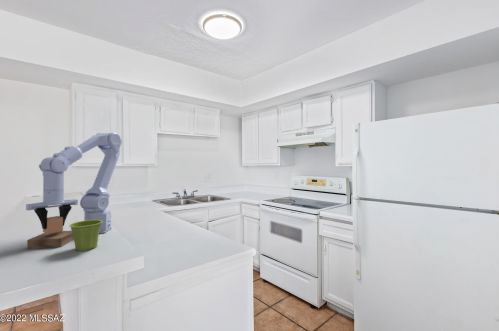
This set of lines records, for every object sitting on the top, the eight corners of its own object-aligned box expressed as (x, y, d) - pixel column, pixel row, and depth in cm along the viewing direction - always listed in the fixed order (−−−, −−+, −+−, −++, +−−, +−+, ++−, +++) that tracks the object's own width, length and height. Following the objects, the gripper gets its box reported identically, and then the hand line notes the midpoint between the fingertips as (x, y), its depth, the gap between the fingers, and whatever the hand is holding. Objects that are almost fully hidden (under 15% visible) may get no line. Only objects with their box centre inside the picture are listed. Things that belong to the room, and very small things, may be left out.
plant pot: (65, 255, 74) (66, 227, 74) (72, 245, 82) (72, 221, 82) (100, 250, 78) (100, 224, 78) (103, 242, 86) (103, 218, 86)
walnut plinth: (75, 238, 91) (75, 230, 91) (61, 246, 81) (61, 238, 81) (46, 239, 89) (46, 231, 89) (27, 248, 79) (27, 240, 79)
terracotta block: (58, 229, 88) (58, 215, 88) (62, 230, 86) (63, 217, 86) (42, 231, 84) (42, 218, 84) (47, 233, 82) (47, 219, 82)
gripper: (72, 187, 93) (72, 221, 93) (23, 190, 81) (22, 229, 81) (80, 188, 89) (80, 224, 89) (30, 192, 77) (29, 233, 77)
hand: (53, 227), depth 85 cm, fingers closed on terracotta block, 4 cm apart
